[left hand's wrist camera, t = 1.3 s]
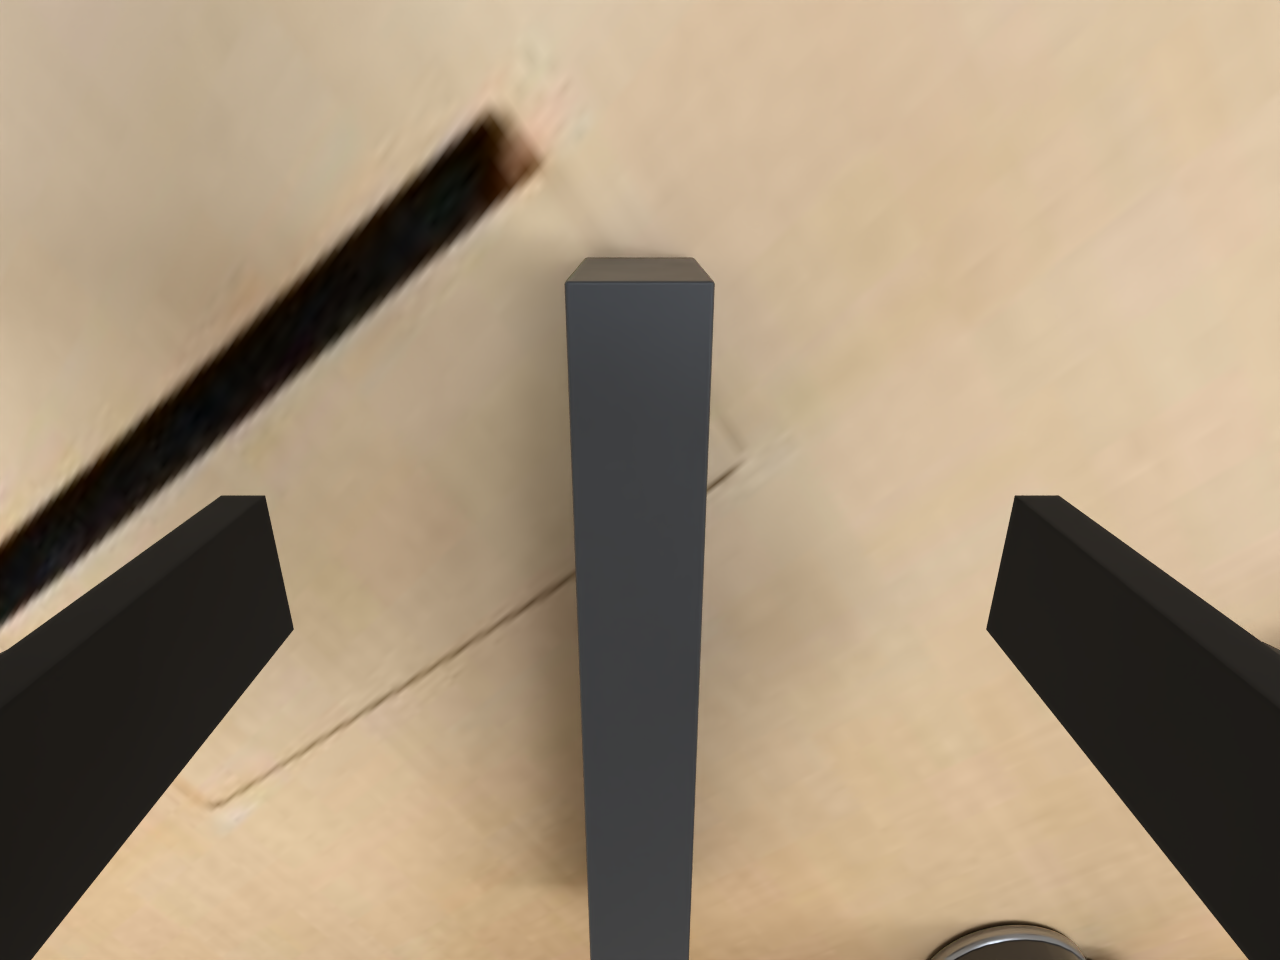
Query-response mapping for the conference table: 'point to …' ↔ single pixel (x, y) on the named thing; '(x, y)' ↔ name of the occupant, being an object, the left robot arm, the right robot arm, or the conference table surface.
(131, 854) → the conference table surface
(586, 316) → the rail
